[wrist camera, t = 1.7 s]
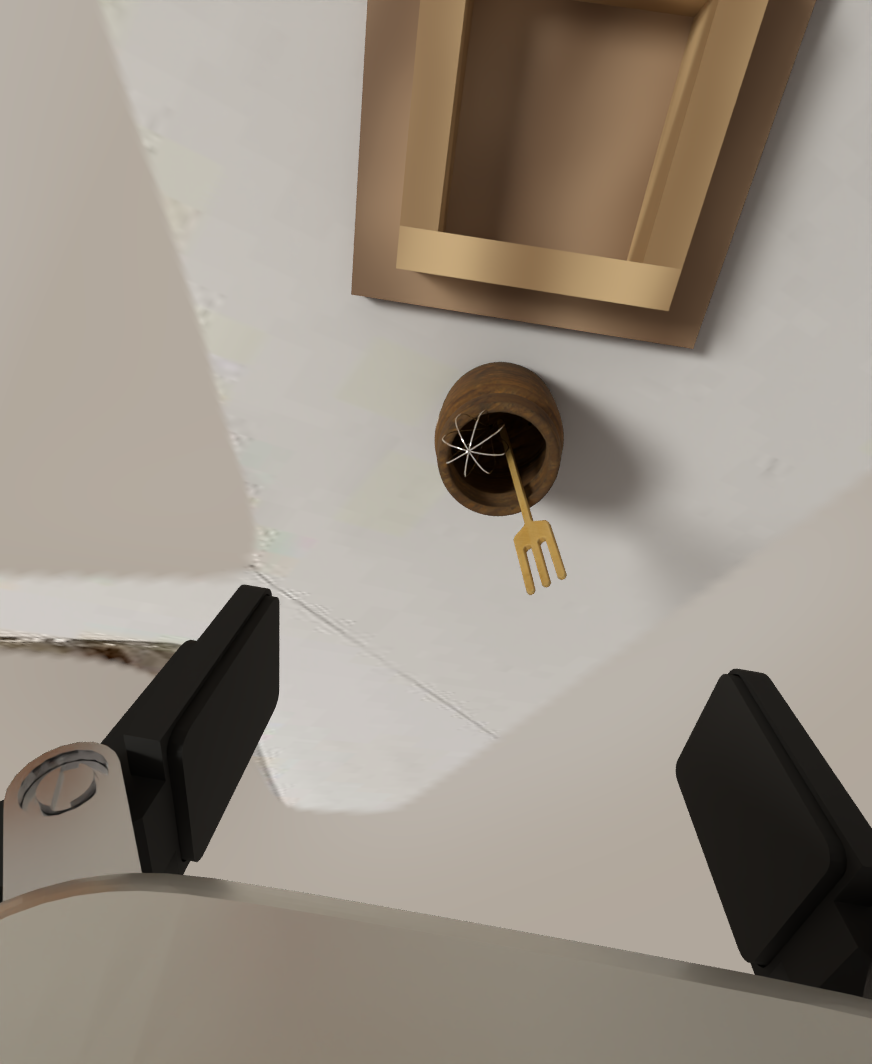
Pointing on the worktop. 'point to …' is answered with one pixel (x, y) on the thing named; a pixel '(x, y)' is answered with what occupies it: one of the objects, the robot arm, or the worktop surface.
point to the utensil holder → (503, 452)
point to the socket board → (564, 154)
